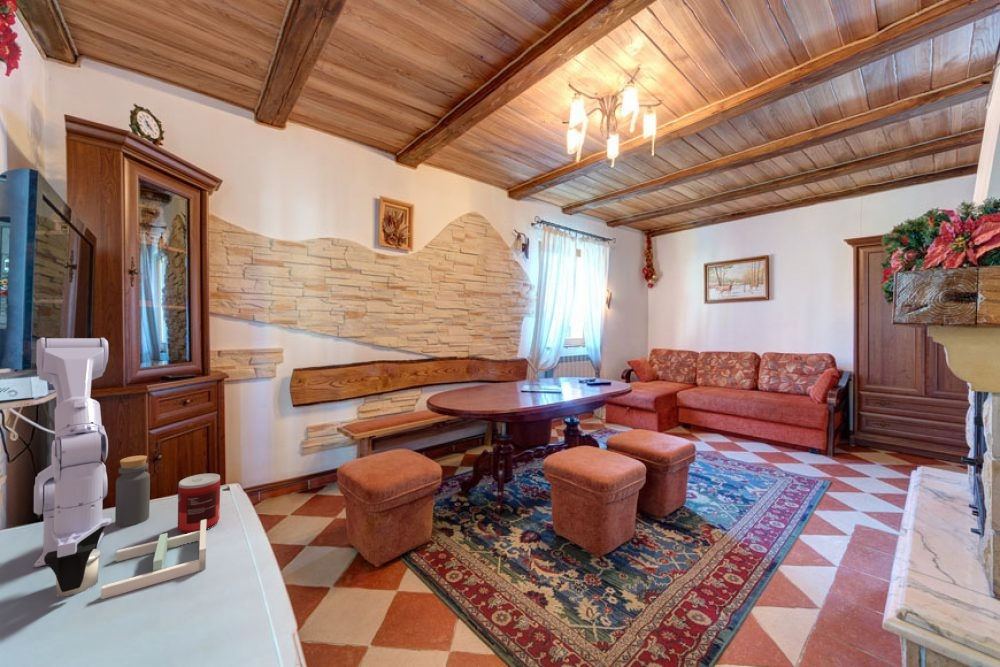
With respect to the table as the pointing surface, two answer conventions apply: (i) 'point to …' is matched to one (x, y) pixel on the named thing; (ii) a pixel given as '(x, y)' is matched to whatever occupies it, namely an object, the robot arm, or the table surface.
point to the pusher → (160, 553)
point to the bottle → (132, 492)
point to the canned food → (198, 502)
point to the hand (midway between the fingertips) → (77, 577)
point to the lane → (163, 573)
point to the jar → (85, 575)
